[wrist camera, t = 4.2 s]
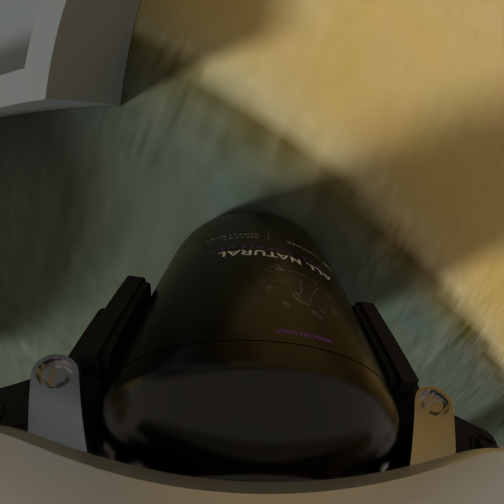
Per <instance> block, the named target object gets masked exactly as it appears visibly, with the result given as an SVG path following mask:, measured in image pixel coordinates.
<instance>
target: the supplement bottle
mask: <svg viewBox="0 0 504 504" xmlns="http://www.w3.org/2000/svg"><path fill="white" fill-rule="evenodd" d="M95 428H96V436H97V441H98V445H99V448H100V451H101V454H102V456H103V458H107V459H110V460H114V461H118V462H121V463H125V464H129V465H133V466H137V467H142V468H146V469H151V470H156V471H161V472H166V473H172V474H178V475H184V476H192V477H199V478H208V479H218V480H230V481H248V482H297V481H315V480H327V479H337V478H345V477H353V476H360V475H366V474H372V473H378V472H383V471H387V469H388V468H389V466H390V464H391V462H392V460H393V458H394V455H395V453H396V449H397V446H398V441H399V436H400V417H399V413H398V409H397V406H396V403H395V400H394V397H393V394H392V392H391V389H390V387H389V385H388V382H387V380H386V378H385V376H384V373H383V371H382V369H381V367H380V365H379V362H378V360H377V358H376V356H375V354H374V351H373V349H372V347H371V345H370V343H369V341H368V339H367V337H366V335H365V332H364V330H363V328H362V326H361V324H360V322H359V320H358V318H357V316H356V314H355V312H354V310H353V308H352V306H351V304H350V302H349V300H348V298H347V296H346V294H345V292H344V290H343V288H342V286H341V284H340V282H339V280H338V279H337V277H336V275H335V273H334V271H333V269H332V267H331V265H330V263H329V262H328V260H327V258H326V257H325V255H324V253H323V251H322V250H321V248H320V247H319V245H318V244H317V243H316V241H315V240H314V239H313V238H312V237H311V236H310V235H309V234H308V233H307V232H306V231H305V230H303V229H302V228H301V227H299V226H298V225H296V224H295V223H293V222H291V221H289V220H287V219H285V218H282V217H279V216H276V215H273V214H269V213H263V212H249V211H247V212H236V213H231V214H227V215H223V216H220V217H218V218H215V219H213V220H211V221H209V222H207V223H205V224H204V225H202V226H200V227H199V228H198V229H197V230H195V231H194V232H193V233H192V234H191V235H190V236H189V237H188V238H187V239H186V240H185V241H184V243H183V244H182V245H181V246H180V248H179V250H178V251H177V253H176V254H175V256H174V257H173V259H172V261H171V262H170V264H169V266H168V268H167V269H166V271H165V273H164V275H163V276H162V278H161V280H160V282H159V283H158V285H157V287H156V289H155V291H154V292H153V294H152V296H151V298H150V300H149V301H148V303H147V305H146V307H145V309H144V311H143V313H142V314H141V316H140V318H139V320H138V322H137V324H136V326H135V328H134V330H133V331H132V333H131V335H130V337H129V339H128V341H127V343H126V345H125V347H124V349H123V351H122V353H121V355H120V357H119V359H118V361H117V363H116V365H115V367H114V369H113V371H112V373H111V375H110V377H109V380H108V382H107V384H106V386H105V388H104V391H103V394H102V396H101V398H100V401H99V404H98V407H97V411H96V418H95Z"/></svg>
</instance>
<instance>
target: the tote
mask: <svg viewBox="0 0 504 504" xmlns="http://www.w3.org/2000/svg"><path fill="white" fill-rule="evenodd" d="M140 1H141V0H0V118H3V117H9V116H14V115H21V114H27V113H34V112H42V111H50V110H59V109H70V108H83V107H101V106H120V104H121V96H122V89H123V82H124V76H125V69H126V64H127V58H128V53H129V48H130V43H131V38H132V33H133V29H134V24H135V20H136V16H137V12H138V8H139V4H140Z"/></svg>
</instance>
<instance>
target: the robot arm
mask: <svg viewBox="0 0 504 504" xmlns="http://www.w3.org/2000/svg"><path fill="white" fill-rule="evenodd" d="M150 298H151V286H150V283H148V282H146V280H145V278H143V277H136V276H128V277H127V278H126V279H125V281H124V282H123V283H122V285H121V286H120V288H119V289H118V290H117V292H116V293H115V295H114V296H113V298H112V299H111V300H110V302H109V303H108V305H107V306H106V308H105V309H103V308H102V309H100V310H99V311H98V312H97V314H96V315H95V317H94V318H93V320H92V321H91V323H90V324H89V325H88V327H87V328H86V330H85V331H84V333H83V334H82V336H81V337H80V339H79V341H78V342H77V344H76V345H75V347H74V348H73V350H72V351H71V353H70V354H69V356H65V355H58V354H54V355H49V356H46V357H44V358H42V359H40V360H39V361H38V362H37V363H36V364H35V365H34V367H33V369H32V372H31V379H30V380H27V381H23V382H20V383H17V384H14V385H10V386H7V387H3V388H0V504H504V447H502V446H500V445H499V446H498V447H497V444H496V441H495V439H494V438H493V436H492V435H491V434H490V433H488V432H487V431H485V430H483V429H481V428H479V427H477V426H475V425H473V424H471V423H469V422H467V421H465V420H463V419H461V418H459V417H457V416H455V415H454V409H453V403H452V401H451V399H450V397H449V396H448V395H447V394H446V393H445V392H444V391H442V390H441V389H439V388H436V387H432V386H425V387H422V388H420V389H419V387H418V385H417V383H418V381H419V380H418V378H417V376H416V374H415V373H414V371H413V369H412V367H411V365H410V364H409V362H408V360H407V358H406V357H405V355H404V353H403V352H402V350H401V348H400V346H399V345H398V343H397V341H396V340H395V338H394V336H393V335H392V333H391V331H390V330H389V328H388V326H387V325H386V323H385V321H384V320H383V318H382V317H381V315H380V313H379V312H378V310H377V309H376V307H375V305H374V304H373V303H366V302H357V303H356V304H355V306H352V308H353V310H354V312H355V314H356V316H357V318H358V320H359V322H360V324H361V326H362V328H363V330H364V332H365V335H366V337H367V339H368V341H369V343H370V345H371V347H372V349H373V351H374V354H375V356H376V358H377V360H378V362H379V365H380V367H381V369H382V371H383V373H384V376H385V378H386V380H387V382H388V385H389V387H390V389H391V392H392V394H393V397H394V400H395V403H396V406H397V409H398V413H399V417H400V436H399V441H398V446H397V449H396V453H395V455H394V458H393V460H392V462H391V464H390V466H389V468H388V469H387V471H383V472H378V473H372V474H366V475H360V476H353V477H345V478H337V479H327V480H315V481H297V482H248V481H230V480H218V479H208V478H199V477H192V476H184V475H178V474H172V473H166V472H161V471H156V470H151V469H146V468H142V467H137V466H133V465H129V464H125V463H121V462H118V461H114V460H110V459H107V458H103V456H102V454H101V451H100V448H99V445H98V441H97V436H96V428H95V418H96V411H97V407H98V404H99V401H100V398H101V396H102V394H103V391H104V388H105V386H106V384H107V382H108V380H109V377H110V375H111V373H112V371H113V369H114V367H115V365H116V363H117V361H118V359H119V357H120V355H121V353H122V351H123V349H124V347H125V345H126V343H127V341H128V339H129V337H130V335H131V333H132V331H133V330H134V328H135V326H136V324H137V322H138V320H139V318H140V316H141V314H142V313H143V311H144V309H145V307H146V305H147V303H148V301H149V300H150Z"/></svg>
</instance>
